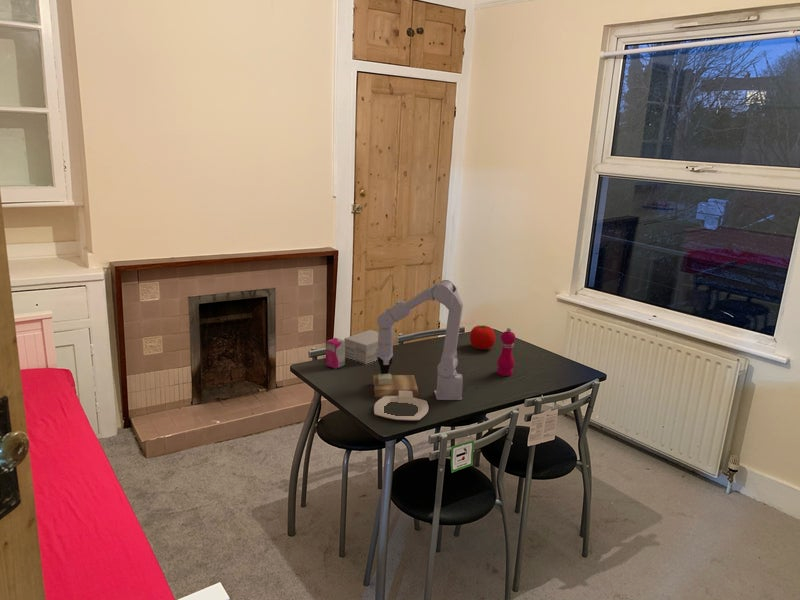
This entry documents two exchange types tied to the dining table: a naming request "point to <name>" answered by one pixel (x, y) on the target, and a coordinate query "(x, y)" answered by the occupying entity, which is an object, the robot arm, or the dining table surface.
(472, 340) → the tomato
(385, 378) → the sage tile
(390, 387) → the oak board
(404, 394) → the white tile
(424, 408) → the pale beige plate
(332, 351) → the supplement box
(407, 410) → the dining table surface
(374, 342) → the supplement box
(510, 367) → the pepper mill
